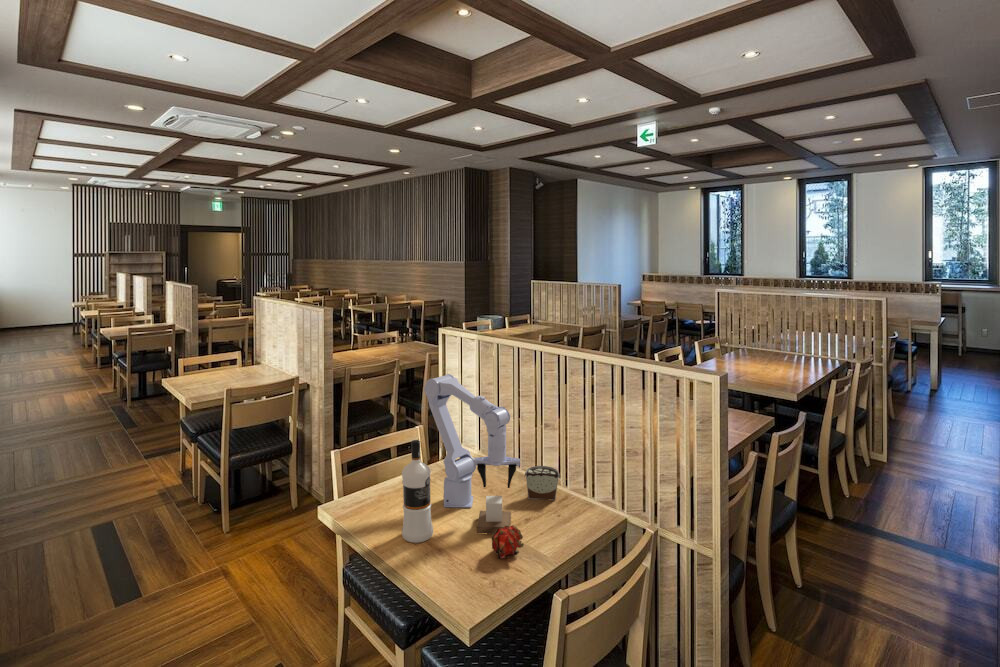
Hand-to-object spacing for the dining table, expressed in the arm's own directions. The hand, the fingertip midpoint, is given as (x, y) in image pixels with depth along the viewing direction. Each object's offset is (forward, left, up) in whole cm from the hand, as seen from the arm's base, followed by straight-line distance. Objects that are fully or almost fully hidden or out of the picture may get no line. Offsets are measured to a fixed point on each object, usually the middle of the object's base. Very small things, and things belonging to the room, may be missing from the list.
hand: (496, 486), depth 172 cm
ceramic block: (-1, -5, -8) cm, 10 cm away
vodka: (-23, -13, -11) cm, 29 cm away
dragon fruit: (+4, -22, -11) cm, 24 cm away
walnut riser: (0, -6, -11) cm, 12 cm away
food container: (+16, +15, -11) cm, 24 cm away
